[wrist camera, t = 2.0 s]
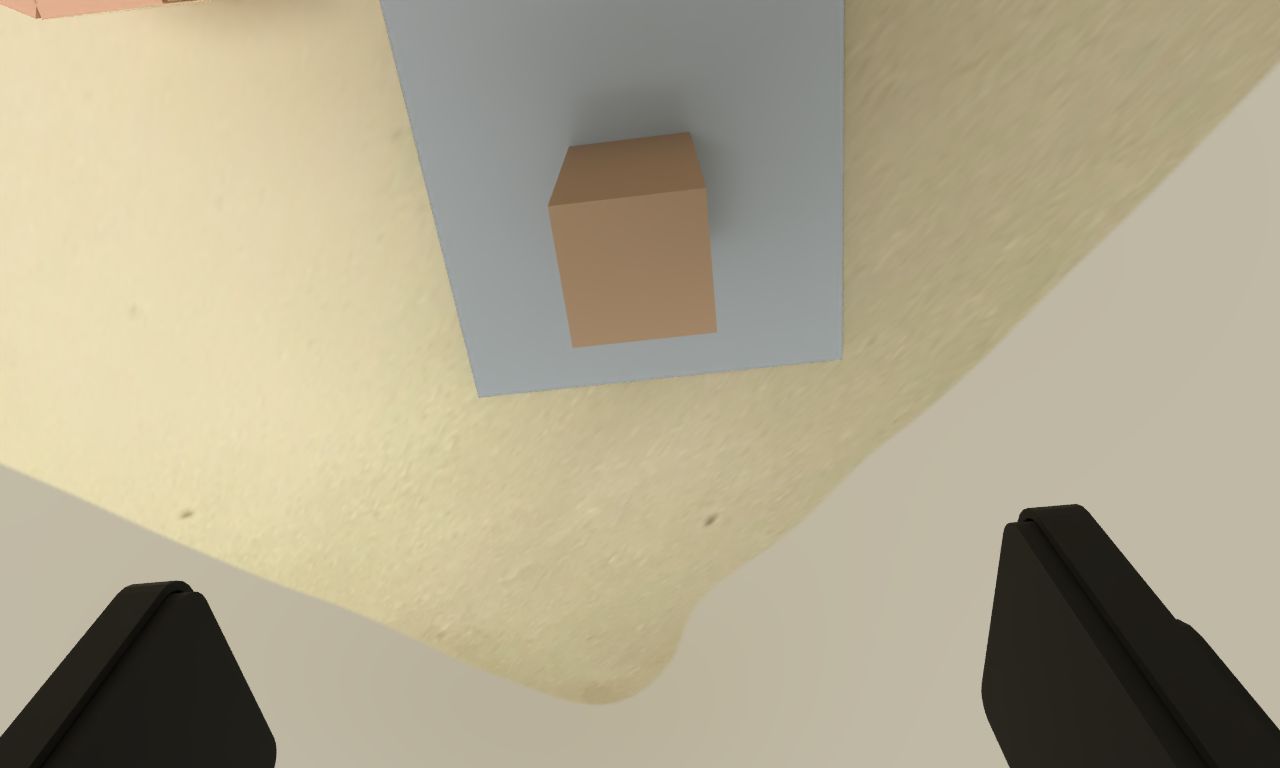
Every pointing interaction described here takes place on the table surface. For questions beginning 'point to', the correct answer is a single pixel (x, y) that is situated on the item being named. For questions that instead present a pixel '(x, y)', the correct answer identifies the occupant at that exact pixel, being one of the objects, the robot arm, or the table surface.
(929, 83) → the table surface
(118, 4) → the bowl
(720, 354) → the cover
